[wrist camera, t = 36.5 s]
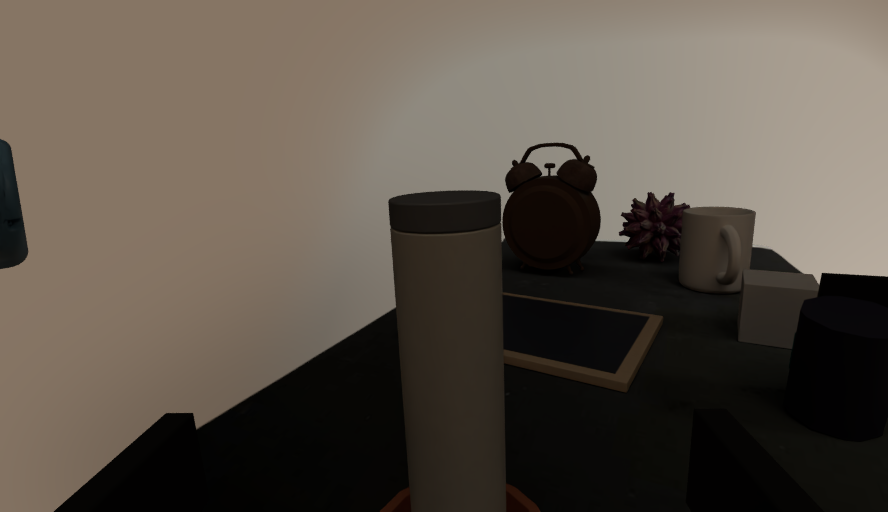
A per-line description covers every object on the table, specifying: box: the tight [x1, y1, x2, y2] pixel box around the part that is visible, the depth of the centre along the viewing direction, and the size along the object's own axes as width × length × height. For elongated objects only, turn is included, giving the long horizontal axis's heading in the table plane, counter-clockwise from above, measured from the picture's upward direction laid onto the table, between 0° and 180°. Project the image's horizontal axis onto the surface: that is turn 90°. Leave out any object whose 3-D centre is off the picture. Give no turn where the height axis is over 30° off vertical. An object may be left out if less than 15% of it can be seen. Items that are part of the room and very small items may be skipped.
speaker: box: [784, 273, 888, 441], centre depth 32 cm, size 8×6×10 cm
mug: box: [679, 207, 756, 294], centre depth 61 cm, size 12×8×10 cm
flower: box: [619, 192, 690, 262], centre depth 77 cm, size 12×12×12 cm
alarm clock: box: [503, 143, 601, 275], centre depth 72 cm, size 15×7×20 cm, turn 57°
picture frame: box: [502, 293, 663, 393], centre depth 51 cm, size 24×17×1 cm
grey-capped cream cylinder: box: [388, 191, 506, 512], centre depth 19 cm, size 4×4×18 cm
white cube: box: [737, 269, 819, 349], centre depth 47 cm, size 6×6×6 cm
